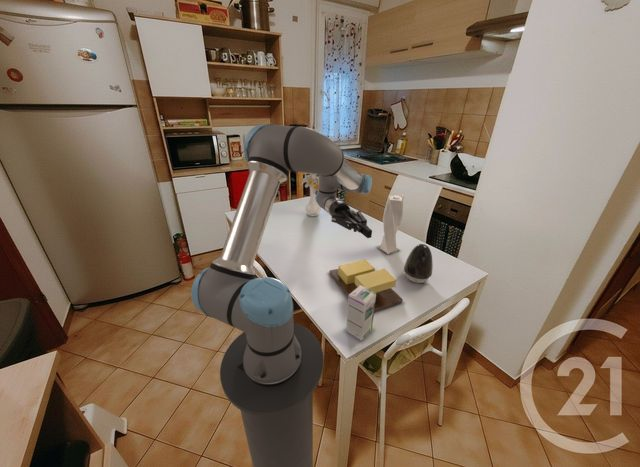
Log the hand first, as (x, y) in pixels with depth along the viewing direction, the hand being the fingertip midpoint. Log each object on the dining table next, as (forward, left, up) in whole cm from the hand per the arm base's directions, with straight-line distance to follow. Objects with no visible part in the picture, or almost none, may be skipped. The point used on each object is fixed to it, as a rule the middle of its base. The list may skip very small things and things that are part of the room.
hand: (369, 234), depth 87 cm
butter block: (+1, +6, -21) cm, 22 cm away
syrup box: (-15, -14, -23) cm, 31 cm away
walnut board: (0, 0, -22) cm, 22 cm away
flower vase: (+21, +67, -23) cm, 74 cm away
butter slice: (-1, -6, -17) cm, 18 cm away
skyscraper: (+28, +14, -23) cm, 39 cm away
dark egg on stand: (+21, -7, -23) cm, 32 cm away
